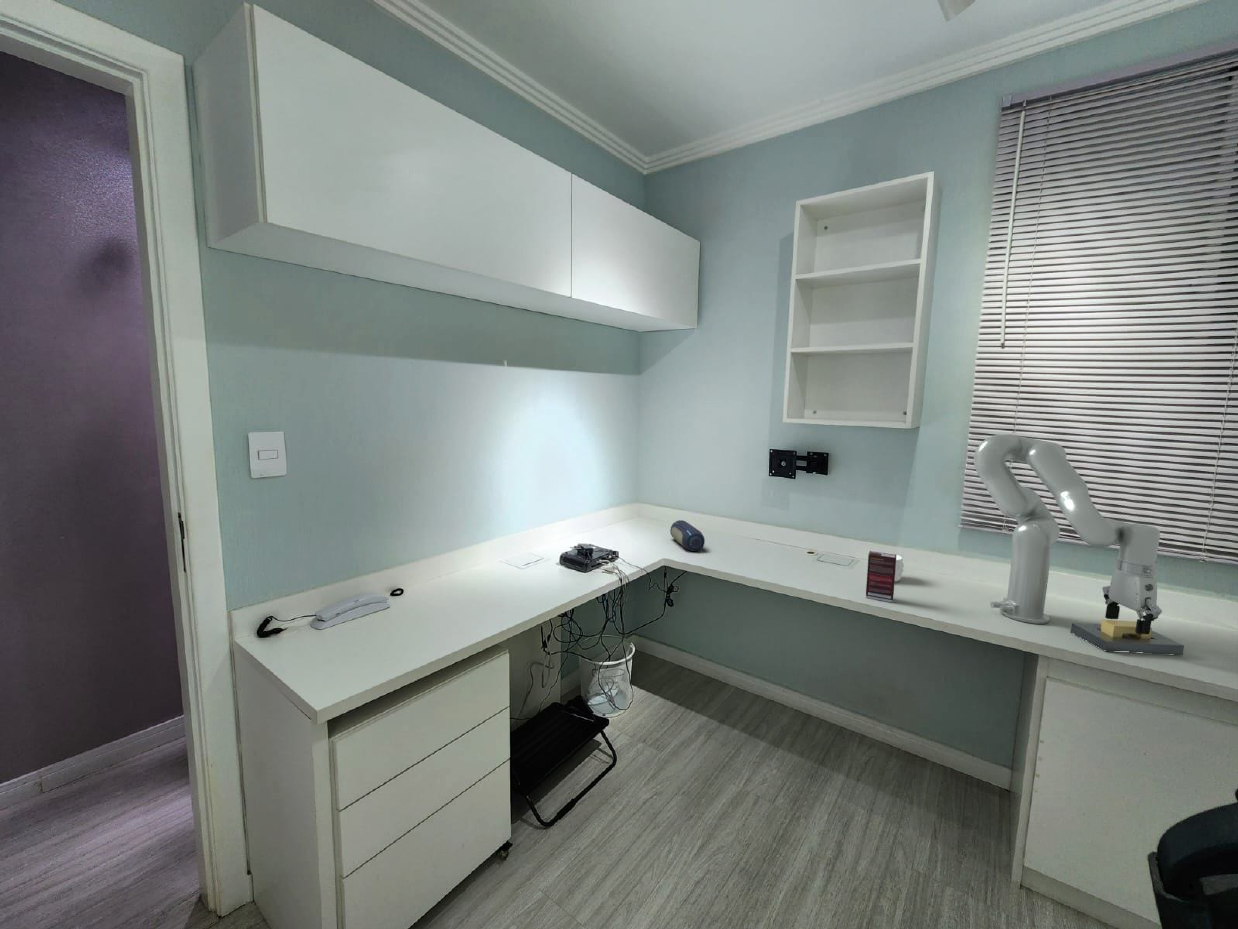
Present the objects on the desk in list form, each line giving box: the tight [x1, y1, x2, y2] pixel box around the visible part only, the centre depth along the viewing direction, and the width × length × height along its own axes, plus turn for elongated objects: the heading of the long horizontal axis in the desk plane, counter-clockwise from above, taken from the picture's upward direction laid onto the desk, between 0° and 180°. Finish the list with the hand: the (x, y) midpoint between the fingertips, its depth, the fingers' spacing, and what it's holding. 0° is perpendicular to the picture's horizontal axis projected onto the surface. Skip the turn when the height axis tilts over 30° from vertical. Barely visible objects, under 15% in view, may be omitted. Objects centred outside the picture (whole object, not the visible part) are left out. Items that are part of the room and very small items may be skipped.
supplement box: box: [865, 550, 897, 603], centre depth 178 cm, size 9×5×16 cm, turn 60°
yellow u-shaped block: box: [1101, 619, 1153, 639], centre depth 147 cm, size 10×4×6 cm, turn 85°
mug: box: [888, 552, 905, 583], centre depth 197 cm, size 12×10×9 cm
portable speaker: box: [669, 519, 706, 552], centre depth 239 cm, size 25×10×10 cm, turn 13°
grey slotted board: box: [1070, 622, 1185, 656], centre depth 148 cm, size 20×12×3 cm, turn 85°
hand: (1126, 625), depth 147 cm, fingers open, 9 cm apart
